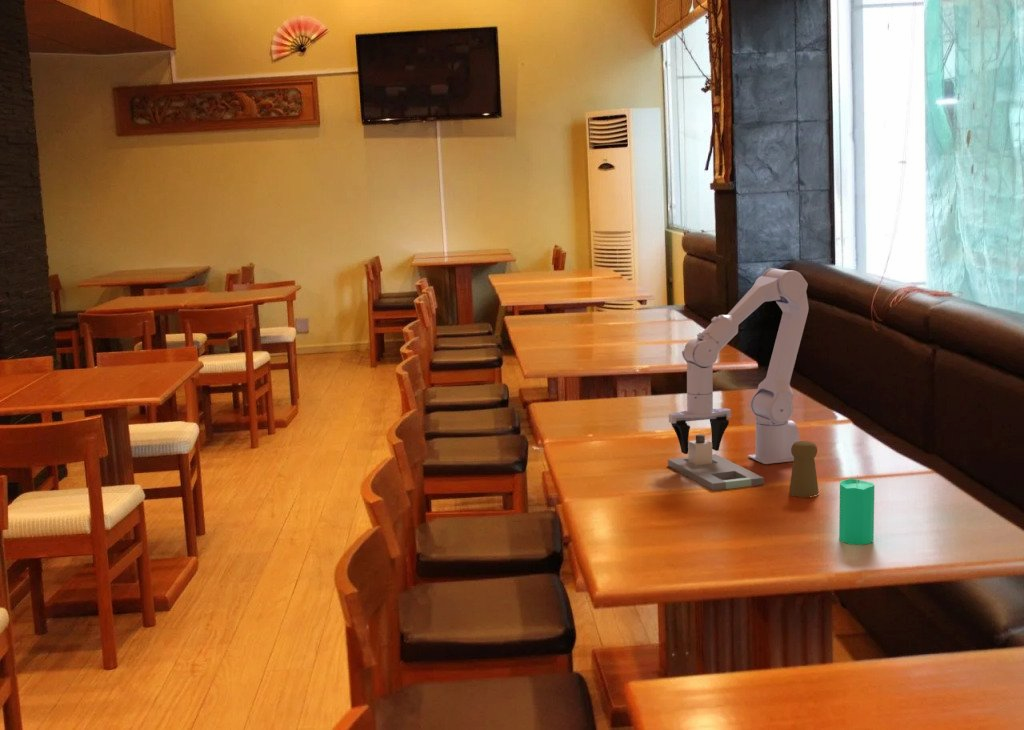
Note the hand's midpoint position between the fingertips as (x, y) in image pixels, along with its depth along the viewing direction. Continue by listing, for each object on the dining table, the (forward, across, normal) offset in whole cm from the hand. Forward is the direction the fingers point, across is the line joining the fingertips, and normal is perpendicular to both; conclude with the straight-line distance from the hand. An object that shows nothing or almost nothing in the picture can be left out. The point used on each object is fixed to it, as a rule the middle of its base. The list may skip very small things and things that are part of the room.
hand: (700, 451), depth 261 cm
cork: (+4, -10, +28) cm, 30 cm away
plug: (+4, 0, 0) cm, 4 cm away
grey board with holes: (+4, 0, +7) cm, 8 cm away
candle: (+4, -3, +58) cm, 58 cm away
